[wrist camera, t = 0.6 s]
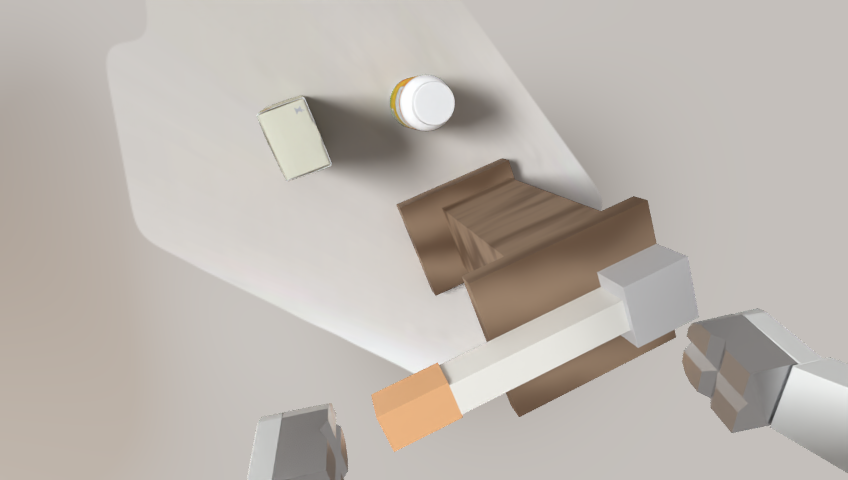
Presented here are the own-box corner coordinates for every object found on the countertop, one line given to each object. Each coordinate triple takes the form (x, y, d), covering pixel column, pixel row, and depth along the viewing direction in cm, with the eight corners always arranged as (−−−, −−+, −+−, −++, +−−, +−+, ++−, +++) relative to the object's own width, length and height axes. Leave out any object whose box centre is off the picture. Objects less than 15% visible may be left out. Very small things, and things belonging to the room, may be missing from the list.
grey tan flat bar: (365, 383, 32) (371, 410, 29) (656, 243, 34) (687, 256, 32) (393, 437, 34) (401, 468, 31) (668, 300, 36) (698, 317, 33)
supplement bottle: (439, 83, 53) (467, 79, 44) (430, 131, 55) (456, 137, 46) (393, 73, 52) (412, 67, 43) (385, 123, 53) (402, 127, 44)
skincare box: (263, 108, 50) (252, 110, 38) (303, 94, 50) (303, 91, 39) (289, 165, 52) (285, 184, 40) (326, 151, 52) (333, 165, 41)
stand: (396, 204, 56) (468, 283, 32) (502, 158, 58) (647, 200, 33) (431, 289, 60) (519, 417, 36) (529, 244, 62) (675, 337, 37)
